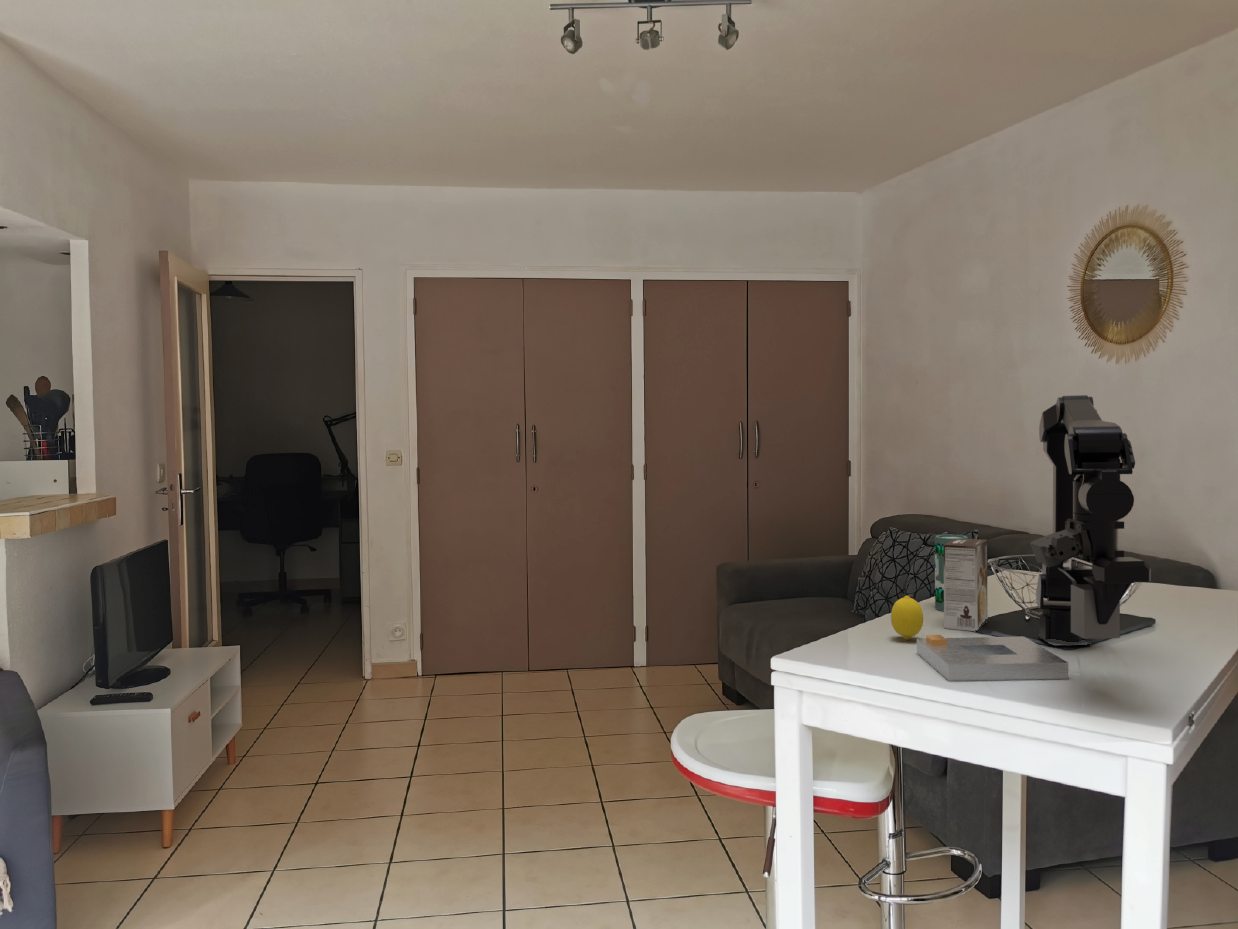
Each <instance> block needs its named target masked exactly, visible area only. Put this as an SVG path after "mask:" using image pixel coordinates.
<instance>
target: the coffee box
mask: <svg viewBox="0 0 1238 929" xmlns="http://www.w3.org/2000/svg"><path fill="white" fill-rule="evenodd" d="M943 548H944V612H943V623H944V624H943V627H944V629H947V630H957V631H958V630H959V631H968V632H976V631H975V630H978V629H979V627H980V626H981V624H982V623H983V622H984V621H985V619H988V617H989V615H988V611H989V610H988V609H989V608H988V606H989V605H988V604H989V603H988V599H989V598H988V539H982V538H981V539H980V538H979V539H977V538H968V539H958V538H955V539H952V540H951V541H949V542H947V543H946V544H944V545H943Z"/></svg>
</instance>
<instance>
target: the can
mask: <svg viewBox="0 0 1238 929" xmlns="http://www.w3.org/2000/svg"><path fill="white" fill-rule="evenodd" d="M955 538H958V539H969V536H967V535H963V534H962V535H961V534H937V535H934V608H935V610H936V611H939V612H943V613H944V548H943V545H944V544H946V543H947V542H949V541H951V540H952V539H955Z"/></svg>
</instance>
